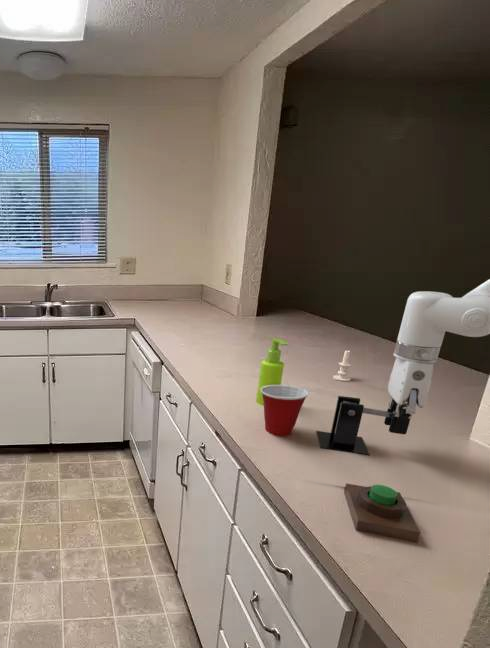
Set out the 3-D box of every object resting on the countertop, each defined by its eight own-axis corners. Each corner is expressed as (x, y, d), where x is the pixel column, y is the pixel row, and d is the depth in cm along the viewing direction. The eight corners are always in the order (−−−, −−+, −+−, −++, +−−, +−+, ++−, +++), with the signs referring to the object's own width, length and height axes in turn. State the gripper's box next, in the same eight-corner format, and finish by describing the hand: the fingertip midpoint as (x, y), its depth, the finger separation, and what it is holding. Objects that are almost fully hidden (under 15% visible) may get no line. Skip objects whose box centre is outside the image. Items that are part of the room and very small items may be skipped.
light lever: (403, 421, 98) (408, 408, 97) (407, 427, 95) (412, 413, 94) (339, 410, 102) (343, 398, 101) (341, 415, 100) (345, 403, 98)
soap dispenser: (265, 411, 122) (276, 343, 116) (251, 402, 129) (260, 336, 122) (283, 409, 124) (295, 341, 117) (268, 400, 130) (278, 335, 123)
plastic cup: (275, 421, 117) (282, 379, 112) (310, 438, 107) (318, 393, 103) (245, 429, 112) (250, 386, 108) (278, 447, 103) (286, 401, 99)
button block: (343, 492, 86) (347, 475, 84) (397, 502, 83) (402, 484, 81) (355, 530, 75) (360, 511, 74) (417, 543, 72) (423, 523, 71)
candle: (352, 382, 144) (358, 352, 140) (334, 380, 146) (340, 350, 142) (349, 377, 149) (355, 348, 145) (331, 375, 150) (337, 346, 147)
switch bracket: (360, 441, 106) (371, 396, 102) (369, 459, 98) (380, 411, 94) (315, 434, 109) (323, 391, 105) (319, 451, 101) (329, 405, 97)
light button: (366, 490, 80) (368, 482, 80) (392, 495, 79) (394, 487, 78) (371, 503, 77) (373, 494, 76) (398, 508, 75) (400, 499, 75)
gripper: (453, 364, 83) (426, 448, 89) (424, 343, 98) (403, 417, 104) (406, 360, 86) (384, 442, 92) (385, 340, 100) (367, 412, 106)
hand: (394, 428), depth 98 cm, fingers closed on light lever, 3 cm apart
